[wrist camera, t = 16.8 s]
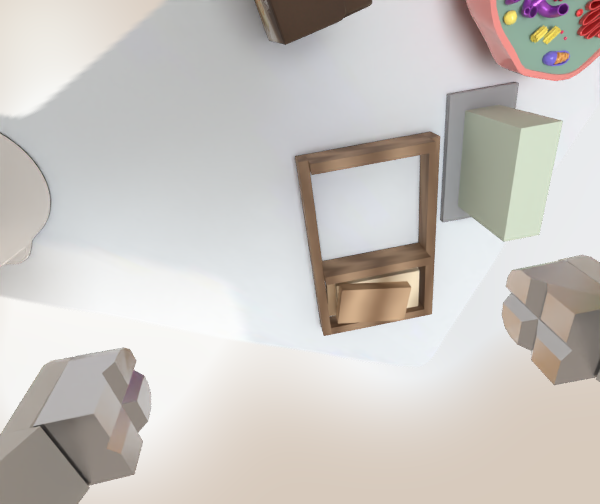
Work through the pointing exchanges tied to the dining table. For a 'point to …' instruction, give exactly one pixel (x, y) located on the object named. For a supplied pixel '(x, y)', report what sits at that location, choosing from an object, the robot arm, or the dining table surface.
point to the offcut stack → (374, 297)
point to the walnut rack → (381, 259)
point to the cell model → (540, 35)
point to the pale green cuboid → (507, 169)
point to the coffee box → (303, 16)
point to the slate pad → (454, 138)
